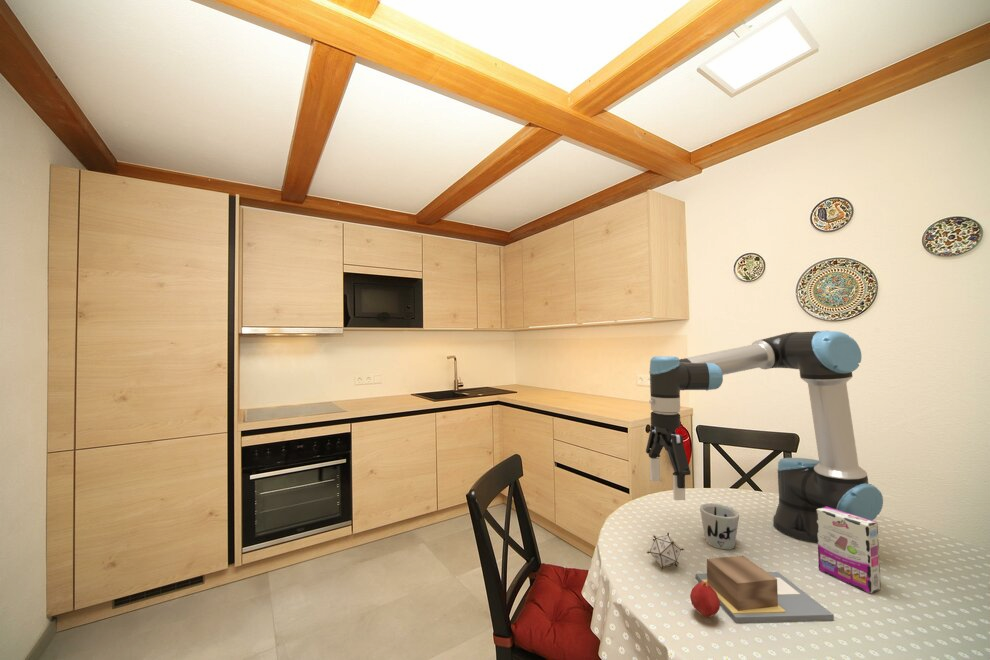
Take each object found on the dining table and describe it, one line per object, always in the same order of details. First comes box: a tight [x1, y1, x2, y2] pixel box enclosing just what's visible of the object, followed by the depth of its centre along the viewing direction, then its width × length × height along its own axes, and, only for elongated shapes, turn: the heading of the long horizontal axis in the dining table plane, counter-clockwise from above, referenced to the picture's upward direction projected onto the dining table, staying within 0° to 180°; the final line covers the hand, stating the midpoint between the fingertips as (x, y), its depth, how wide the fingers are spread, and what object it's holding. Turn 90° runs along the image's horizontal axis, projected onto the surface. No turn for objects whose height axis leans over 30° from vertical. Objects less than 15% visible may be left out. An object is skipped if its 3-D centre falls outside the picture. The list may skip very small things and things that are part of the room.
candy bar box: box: [816, 506, 882, 595], centre depth 99 cm, size 11×5×16 cm, turn 23°
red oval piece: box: [689, 581, 721, 619], centre depth 86 cm, size 6×6×8 cm
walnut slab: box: [706, 555, 778, 611], centre depth 91 cm, size 10×10×6 cm
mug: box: [699, 503, 740, 550], centre depth 120 cm, size 10×15×10 cm
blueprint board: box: [694, 571, 835, 624], centre depth 92 cm, size 22×16×2 cm
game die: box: [646, 531, 685, 571], centre depth 106 cm, size 9×8×10 cm
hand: (666, 489), depth 106 cm, fingers open, 13 cm apart
